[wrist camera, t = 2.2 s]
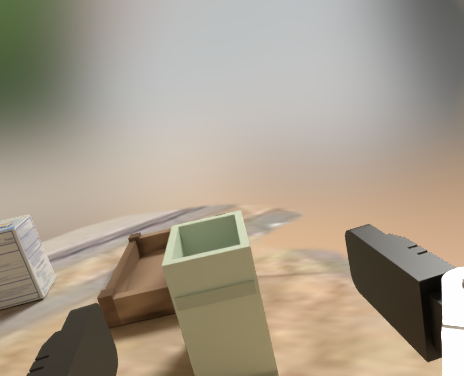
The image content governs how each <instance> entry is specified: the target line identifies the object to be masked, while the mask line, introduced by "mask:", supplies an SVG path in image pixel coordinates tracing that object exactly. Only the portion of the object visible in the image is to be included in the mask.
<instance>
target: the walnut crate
mask: <svg viewBox="0 0 464 376" xmlns="http://www.w3.org/2000/svg"><path fill="white" fill-rule="evenodd" d="M220 215H223V214H220ZM216 216H218V215H216ZM170 232H171V229H168V230H163V231H159V232H155V233H150V234H146V235H141V233H136V234H131V235H130V237H129V238H128V239H129V244H128V246H127V248H126V250H125V251H124V253H123V255H122V257H121V259H120V261H119V263H118V265H117V267H116V269H115V271H114V273H113V275H112V277H111V279H110V281H109V283H108V285H107V287H106V289H105V290H102V291H101V292H100V294H99V296H98V298H97V299H98V302H99V304H100V307H101V309H102V312H103V314H104V317H105V320H106V322H107V325H108V328H111V327H116V326H120V325H125V324H129V323H134V322H138V321H142V320H147V319H151V318H156V317H160V316H165V315H169V314H174V313H176V312H175V309H174V305H173V302H172V299H171V295H170V292H169V289H168V285H167V282H166V279H165V275H164V272H163V269H162V263H163V259H164V255H165V251H166V247H167V244H168V240H169V236H170Z"/></svg>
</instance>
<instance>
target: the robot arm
mask: <svg viewBox="0 0 464 376" xmlns="http://www.w3.org/2000/svg"><path fill="white" fill-rule="evenodd" d="M345 240H346V246H347V253H348V259H349V265H350V271H351V276H352V279H353V282H354V284H355V286H356V288H357V290H358V291H359V293H360V294H361V295H362V296H363V297H364V298H365V299H366V300H367V301H368V302H369V303H370V304H371V305H372V306H373V307H374V308H375V309H376V310H377V311H378V312H379V313H380V314H381V315H382V316H383V317H384V318H385V319H386V320H387V321H388V322H389V323H390V324H391V325H392V326H393V327H394V328H395V329H396V330H397V331H398V333H399V334H400V335H401V336H402V337H403V338H404V339H405V340H406V341H407V342H408V343H409V344H410V345H411V346H412V347H413V348H414V349H415V350H416V351H417V352H418V353H419V354H420V355H421V356H422V357H423V358H424V359H425V360H426V361H427V362H430V361H433V360H436V359H439V358H442V357H443V376H464V267H463V268H456V267H454V266H452V265H451V264H449V263H448V262H446V261H444V260H443V259H441V258H439V257H437V256H436V255H434V254H432V253H430V252H427V250H425V249H424V248H422V247H420V246H417V244H415V243H414V242H412V241H410V240H408V239H407V238H405V237H401V236H397V235H393V234H387V235H386V234H385V233H383V232H381V231H380V230H378V229H377V228H375V227H373V226H372V225H370V224H367V225H364V226H360V227H357V228H354V229H350V230H347V231H346V233H345ZM35 360H36V361H35V362H34V363H33V364H32V366H31V368H30V370H29V371H30V373H28V374H27V376H116V373H117V368H118V356H117V350H116V346H115V344H114V341H113V338H112V336H111V333H110V330H109V328H108V325H107V322H106V320H105V317H104V314H103V312H102V309H101V307H100V306H99V304H97V303H95V304H91V305H88V306H84V307H81V308H78V309H74V310H71V311H70V313H69V315H68V317H67V319H66V321H65V323H64V325H63V327H62V329H61V331H58V332H55V333H54V334H53V335H52V336H51V337H50V338H49V339H48V340H47V341H46V342H45V343H44V344H43V345H42V347H41V349H40V351H39V353H38V355H37V357H36V359H35Z"/></svg>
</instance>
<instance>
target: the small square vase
mask: <svg viewBox="0 0 464 376" xmlns="http://www.w3.org/2000/svg"><path fill="white" fill-rule="evenodd" d="M162 269H163V272H164V275H165V279H166V282H167V285H168V289H169V292H170V295H171V299H172V302H173V305H174V309H175V312H176V315H177V319H178V322H179V325H180V329H181V332H182V335H183V339H184V342H185V345H186V349H187V352H188V355H189V359H190V362H191V365H192V369H193V372H194V375H195V376H279V375H278V371H277V366H276V361H275V357H274V352H273V348H272V343H271V339H270V334H269V330H268V325H267V321H266V316H265V312H264V307H263V303H262V298H261V293H260V289H259V284H258V280H257V275H256V271H255V266H254V262H253V257H252V253H251V248H250V244H249V240H248V236H247V232H246V228H245V225H244V221H243V217H242V213H241V210H240V211H236V212H231V213H227V214H223V215H218V216H214V217H209V218H205V219H200V220H196V221H191V222H187V223H183V224H178V225H174V226H172V228H171V232H170V236H169V240H168V244H167V247H166V251H165V255H164V259H163V263H162Z"/></svg>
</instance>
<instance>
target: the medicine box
mask: <svg viewBox="0 0 464 376" xmlns="http://www.w3.org/2000/svg"><path fill="white" fill-rule="evenodd" d="M55 280H56V277H55V274H54V272H53V269H52V267H51V265H50V262H49V260H48V258H47V255H46V253H45V250H44V248H43V246H42V243H41V241H40V238H39V236H38V233H37V231H36V229H35V226H34V224H33V221H32V219H31V216H30V215H23V216H19V217H15V218H10V219H6V220H2V221H0V310H1V309H5V308H9V307H12V306H16V305H20V304H24V303H27V302H31V301H35V300H39V299H43V298H44V297H45V296H46V294H47V293H48V291H49V289H50V288H51V286H52V284H53V283H54V281H55Z"/></svg>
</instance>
